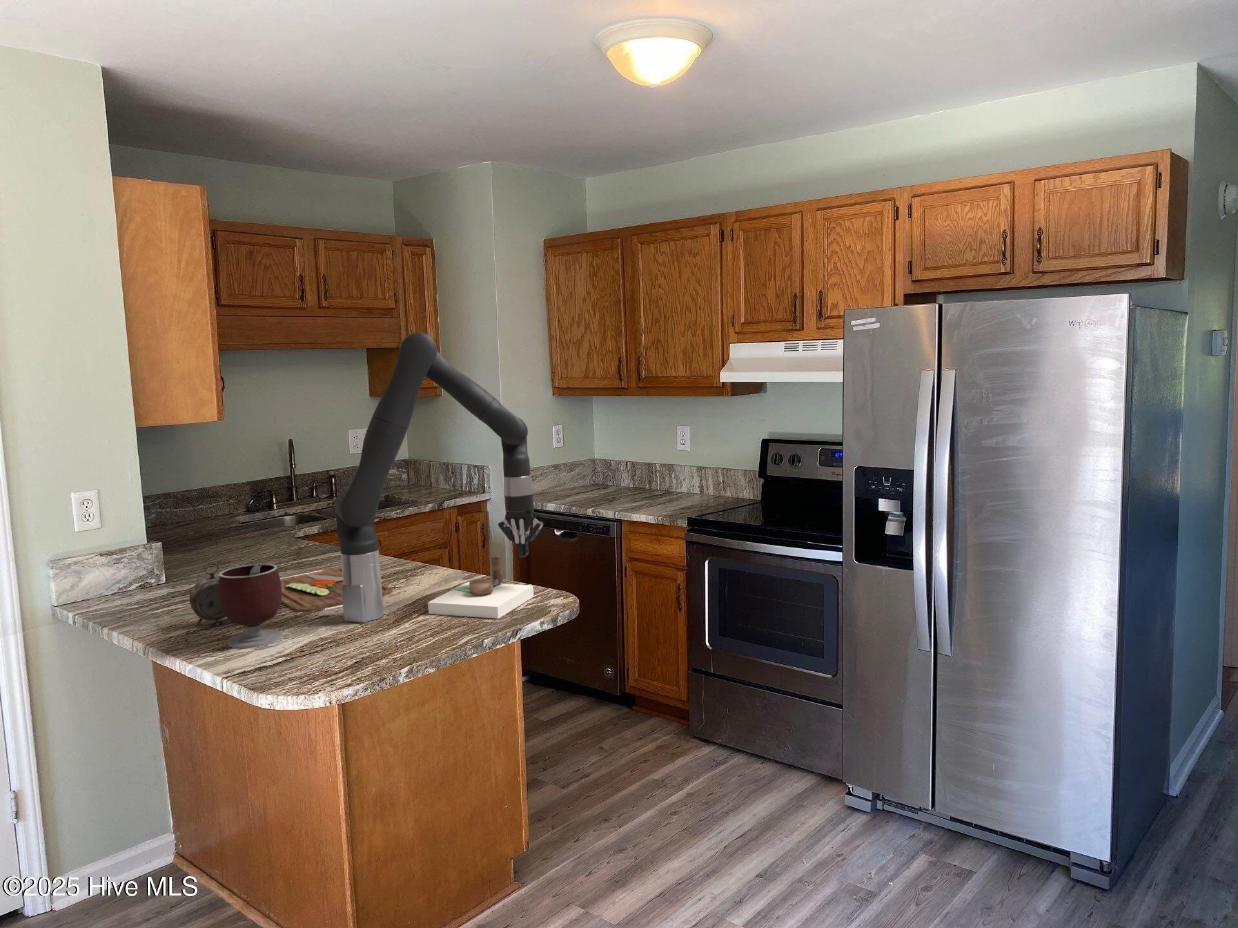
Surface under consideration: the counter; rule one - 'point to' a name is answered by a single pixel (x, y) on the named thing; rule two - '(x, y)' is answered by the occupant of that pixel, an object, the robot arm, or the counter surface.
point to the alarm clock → (207, 599)
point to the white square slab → (481, 601)
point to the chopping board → (316, 590)
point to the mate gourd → (251, 602)
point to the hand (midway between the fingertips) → (523, 556)
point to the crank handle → (487, 585)
